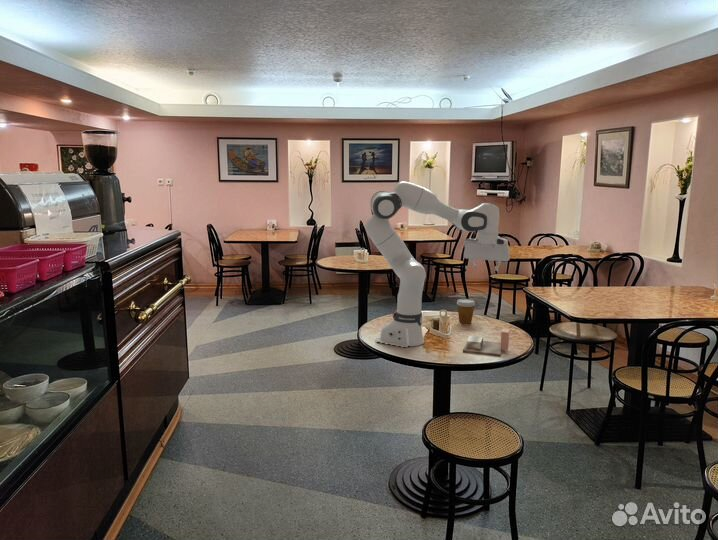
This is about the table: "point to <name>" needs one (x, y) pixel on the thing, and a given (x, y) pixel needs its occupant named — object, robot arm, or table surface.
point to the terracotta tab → (504, 339)
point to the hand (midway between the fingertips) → (485, 269)
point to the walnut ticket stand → (482, 346)
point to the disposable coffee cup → (465, 310)
